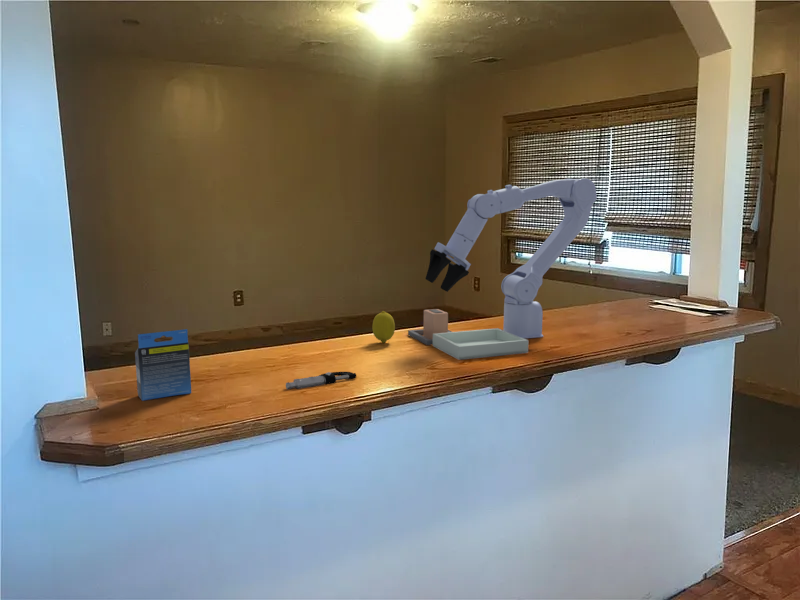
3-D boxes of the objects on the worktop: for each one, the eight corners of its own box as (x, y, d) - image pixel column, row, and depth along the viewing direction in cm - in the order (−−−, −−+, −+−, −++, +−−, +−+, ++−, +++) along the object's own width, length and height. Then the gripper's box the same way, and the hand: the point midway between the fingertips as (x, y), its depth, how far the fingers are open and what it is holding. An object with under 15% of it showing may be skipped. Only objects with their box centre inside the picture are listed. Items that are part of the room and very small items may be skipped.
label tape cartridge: (187, 388, 126) (183, 324, 124) (191, 394, 123) (188, 328, 121) (137, 395, 122) (133, 329, 120) (141, 401, 118) (136, 334, 116)
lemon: (368, 344, 162) (368, 311, 161) (379, 339, 167) (379, 308, 166) (388, 346, 160) (388, 313, 158) (398, 341, 165) (399, 310, 163)
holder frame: (442, 332, 176) (443, 327, 176) (463, 341, 165) (463, 337, 165) (408, 334, 172) (408, 330, 172) (427, 345, 161) (427, 340, 161)
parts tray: (497, 339, 167) (497, 328, 167) (528, 352, 155) (528, 340, 154) (432, 345, 161) (432, 333, 160) (458, 359, 148) (459, 346, 147)
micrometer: (344, 373, 139) (344, 361, 138) (360, 381, 133) (359, 369, 132) (275, 383, 131) (275, 371, 131) (288, 393, 125) (288, 380, 125)
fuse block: (437, 335, 172) (437, 308, 171) (447, 340, 167) (448, 312, 165) (423, 336, 171) (423, 309, 169) (433, 341, 165) (433, 313, 164)
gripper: (465, 242, 172) (439, 287, 173) (438, 221, 161) (410, 270, 161) (486, 252, 168) (459, 298, 169) (459, 231, 156) (430, 281, 157)
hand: (436, 285), depth 165 cm, fingers open, 7 cm apart
